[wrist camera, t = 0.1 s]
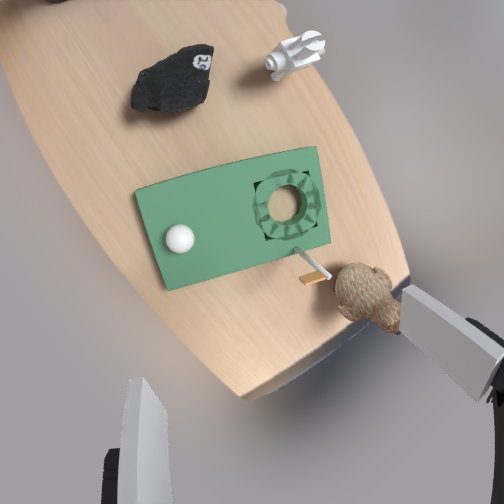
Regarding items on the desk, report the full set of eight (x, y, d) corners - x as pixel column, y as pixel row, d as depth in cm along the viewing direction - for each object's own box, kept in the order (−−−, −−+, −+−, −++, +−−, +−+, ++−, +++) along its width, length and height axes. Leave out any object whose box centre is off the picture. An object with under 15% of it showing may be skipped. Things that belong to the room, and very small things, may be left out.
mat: (137, 189, 34) (115, 204, 22) (309, 146, 37) (358, 145, 26) (168, 283, 39) (164, 333, 28) (323, 238, 42) (369, 268, 31)
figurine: (336, 311, 48) (383, 362, 34) (309, 276, 44) (359, 327, 30) (373, 278, 47) (428, 318, 34) (351, 239, 44) (413, 275, 30)
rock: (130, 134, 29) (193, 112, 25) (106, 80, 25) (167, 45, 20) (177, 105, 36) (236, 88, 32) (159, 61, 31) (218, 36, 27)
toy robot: (307, 72, 33) (351, 47, 22) (260, 90, 33) (292, 65, 22) (294, 50, 32) (333, 18, 21) (247, 67, 32) (273, 33, 20)
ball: (163, 225, 34) (160, 233, 31) (189, 218, 34) (190, 224, 31) (171, 251, 35) (170, 261, 32) (197, 243, 36) (198, 252, 32)
